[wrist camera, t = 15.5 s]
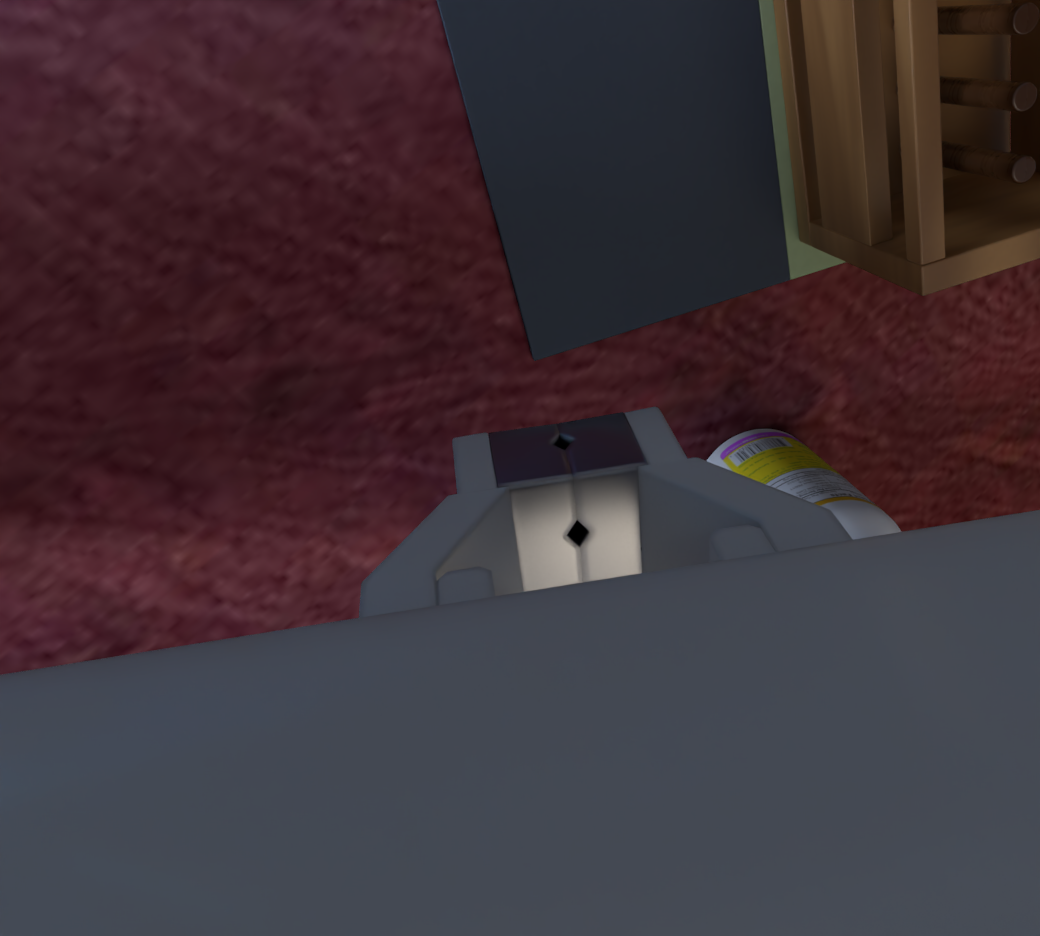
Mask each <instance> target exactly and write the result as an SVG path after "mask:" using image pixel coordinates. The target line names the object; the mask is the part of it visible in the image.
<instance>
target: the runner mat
mask: <svg viewBox="0 0 1040 936" xmlns="http://www.w3.org/2000/svg"><path fill="white" fill-rule="evenodd" d="M437 3H438V7H439V10H440V14H441V18H442V22H443V25H444V29H445V33H446V36H447V40H448V44H449V48H450V51H451V55H452V59H453V62H454V66H455V70H456V74H457V77H458V81H459V85H460V89H461V92H462V96H463V100H464V103H465V107H466V111H467V115H468V118H469V122H470V126H471V130H472V133H473V137H474V141H475V144H476V148H477V152H478V156H479V159H480V163H481V167H482V171H483V174H484V178H485V182H486V185H487V189H488V193H489V197H490V200H491V204H492V208H493V212H494V215H495V219H496V223H497V226H498V230H499V234H500V238H501V241H502V245H503V249H504V253H505V256H506V260H507V264H508V267H509V271H510V275H511V279H512V282H513V286H514V290H515V294H516V297H517V301H518V305H519V308H520V312H521V316H522V320H523V323H524V327H525V331H526V335H527V338H528V342H529V346H530V349H531V353H532V357H533V359H534V361H536V360H539V359H542V358H545V357H548V356H552V355H555V354H558V353H561V352H564V351H567V350H571V349H574V348H577V347H580V346H583V345H586V344H589V343H593V342H596V341H599V340H602V339H605V338H608V337H612V336H615V335H618V334H621V333H624V332H627V331H630V330H634V329H637V328H640V327H643V326H646V325H649V324H653V323H656V322H659V321H662V320H665V319H668V318H671V317H675V316H678V315H681V314H684V313H687V312H690V311H693V310H697V309H700V308H703V307H706V306H709V305H712V304H716V303H719V302H722V301H725V300H728V299H731V298H734V297H738V296H741V295H744V294H747V293H750V292H753V291H757V290H760V289H763V288H766V287H769V286H772V285H775V284H779V283H782V282H785V281H788V280H790V279H794V278H798V277H801V276H804V275H807V274H810V273H813V272H816V271H820V270H823V269H826V268H829V267H832V266H835V265H839V264H842V263H845V261H843V260H841V259H838V258H836V257H834V256H832V255H829V254H827V253H825V252H823V251H820V250H818V249H816V248H814V247H812V246H809V245H807V244H805V243H803V242H800V239H799V230H798V221H797V212H796V203H795V194H794V185H793V176H792V167H791V158H790V149H789V140H788V131H787V122H786V113H785V104H784V95H783V86H782V77H781V68H780V59H779V50H778V41H777V32H776V23H775V14H774V5H773V0H437Z"/></svg>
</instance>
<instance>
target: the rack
mask: <svg viewBox="0 0 1040 936" xmlns="http://www.w3.org/2000/svg"><path fill="white" fill-rule="evenodd" d="M773 5H774V14H775V23H776V32H777V41H778V50H779V59H780V68H781V77H782V86H783V95H784V104H785V113H786V122H787V131H788V140H789V149H790V158H791V167H792V176H793V185H794V194H795V203H796V212H797V221H798V230H799V239H800V242H803V243H805V244H807V245H809V246H812V247H814V248H816V249H818V250H820V251H823V252H825V253H827V254H829V255H832V256H834V257H836V258H838V259H841V260H843V261H845V262H847V263H850V264H852V265H854V266H856V267H859V268H861V269H863V270H865V271H868V272H870V273H872V274H874V275H877V276H879V277H881V278H883V279H886V280H888V281H890V282H892V283H895V284H897V285H899V286H901V287H904V288H906V289H908V290H910V291H913V292H915V293H917V294H919V295H922V296H925V295H928V294H931V293H934V292H937V291H940V290H943V289H946V288H949V287H952V286H955V285H959V284H962V283H965V282H968V281H971V280H974V279H977V278H980V277H983V276H986V275H989V274H992V273H995V272H998V271H1002V270H1005V269H1008V268H1011V267H1014V266H1017V265H1020V264H1023V263H1026V262H1029V261H1032V260H1035V259H1038V258H1040V0H1012V3H1011V0H773ZM1010 47H1011V81H1010ZM1010 111H1011V153H1010Z"/></svg>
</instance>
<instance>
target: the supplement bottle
mask: <svg viewBox="0 0 1040 936" xmlns="http://www.w3.org/2000/svg"><path fill="white" fill-rule="evenodd" d="M707 461H708V462H710V463H713V464H715V465H718V466H720V467H723V468H725V469H728V470H730V471H733V472H736V473H738V474H741V475H743V476H746V477H748V478H751V479H753V480H756V481H758V482H761V483H763V484H766V485H769V486H771V487H774V488H776V489H779V490H781V491H784V492H786V493H789V494H791V495H794V496H796V497H799V498H802V499H804V500H807V501H809V502H812V503H814V504H817V505H819V506H822V507H824V508H827V509H830V510H831V511H832V512H833V514H834V515H835V516H836V518H837V519H838V520H839V522H840V523H841V524H842V526H843V527H844V528H845V530H846V531H847V532H848V534H849V535H850V536H851V538H852V539H853V540H854V539H860V538H867V537H873V536H879V535H886V534H892V533H898V532H901V530H900V529H899V527H898V526H897V524H896V523H895V522H894V521H893V520H892V519H891V518H890V517H889V516H888V515H887V514H886V513H885V512H884V511H883V510H881V509H880V508H879V507H878V506H877V505H875V504H874V503H873V502H872V501H871V500H869V499H868V498H867V497H866V496H865V495H863V494H862V493H861V492H860V491H859V490H857V489H856V488H855V487H854V486H853V485H852V484H851V483H849V482H848V481H847V480H846V479H845V478H843V477H842V476H841V475H840V474H839V473H838V472H836V471H835V470H834V469H833V468H832V467H830V466H829V465H828V464H827V463H826V462H824V461H823V460H822V459H821V458H820V457H819V456H818V455H816V454H815V453H814V452H813V451H812V450H810V449H809V448H808V447H807V446H806V445H804V444H803V443H802V442H800V441H799V440H798V439H796V438H795V437H793V436H792V435H790V434H788V433H785V432H783V431H779V430H775V429H754V430H750V431H746V432H743V433H740V434H738V435H736V436H734V437H732V438H730V439H729V440H727V441H726V442H724V443H723V444H721V445H720V446H719V447H718V448H717V449H716V450H715V451H714V452H713V453H712V454H711V455H710V457H709V458H708V459H707Z"/></svg>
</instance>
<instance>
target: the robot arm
mask: <svg viewBox="0 0 1040 936" xmlns="http://www.w3.org/2000/svg"><path fill="white" fill-rule="evenodd" d="M488 434H489V437H488ZM488 434H487V433H486V432H485V433H480V434H474V435H468V436H463V437H457V438H453V441H452V444H453V454H454V464H455V475H456V485H457V494H455V495H449V496H447V497H446V498H445V499H444V500H443V501H442V503H441V504H440V505H439V506H438V507H437V508H436V509H435V510H434V511H433V512H432V513H431V514H430V515H429V516H428V517H427V518H426V519H425V520H424V521H423V522H422V523H421V524H420V525H419V526H418V527H417V528H416V529H415V530H414V531H413V532H412V533H411V534H410V535H409V536H408V537H407V538H406V539H405V540H404V541H403V542H402V543H401V544H400V545H399V546H398V547H397V548H396V549H395V550H394V551H393V552H392V553H391V554H390V555H389V556H388V557H387V558H386V559H385V560H384V561H383V562H382V563H381V564H380V565H379V566H378V567H377V568H376V569H375V570H374V571H373V572H372V573H371V574H370V575H369V576H368V577H367V578H366V579H365V580H364V581H363V582H362V584H361V597H360V611H359V618H355V619H349V620H342V621H336V622H330V623H323V624H317V625H311V626H304V627H298V628H292V629H285V630H279V631H273V632H267V633H260V634H254V635H248V636H242V637H235V638H229V639H223V640H216V641H210V642H204V643H198V644H191V645H185V646H179V647H173V648H166V649H160V650H154V651H148V652H141V653H135V654H129V655H123V656H116V657H110V658H104V659H97V660H91V661H85V662H79V663H72V664H66V665H60V666H53V667H47V668H41V669H34V670H28V671H22V672H16V673H9V674H3V675H0V936H1040V510H1036V511H1030V512H1024V513H1018V514H1011V515H1005V516H999V517H992V518H986V519H980V520H974V521H967V522H961V523H955V524H948V525H942V526H936V527H930V528H923V529H917V530H911V531H904V532H898V533H892V534H886V535H879V536H873V537H867V538H860V539H854V540H853V539H852V538H851V536H850V535H849V534H848V532H847V531H846V530H845V528H844V527H843V526H842V524H841V523H840V522H839V520H838V519H837V518H836V516H835V515H834V514H833V512H832V511H831V510H830V509H827V508H824V507H822V506H819V505H817V504H814V503H812V502H809V501H807V500H804V499H802V498H799V497H796V496H794V495H791V494H789V493H786V492H784V491H781V490H779V489H776V488H774V487H771V486H769V485H766V484H763V483H761V482H758V481H756V480H753V479H751V478H748V477H746V476H743V475H741V474H738V473H736V472H733V471H730V470H728V469H725V468H723V467H720V466H718V465H715V464H713V463H710V462H708V461H705V460H703V459H700V458H697V457H696V458H689V459H687V457H686V455H685V453H684V452H683V450H682V448H681V446H680V444H679V443H678V441H677V439H676V437H675V436H674V434H673V432H672V430H671V429H670V427H669V425H668V423H667V421H666V420H665V418H664V416H663V414H662V413H661V411H660V409H659V408H657V407H651V408H646V409H641V410H636V411H631V412H626V413H623V412H622V413H616V414H610V415H604V416H599V417H593V418H587V419H582V420H576V421H570V422H564V423H559V424H551V425H544V426H536V427H529V428H521V429H514V430H506V431H499V432H491V433H488ZM489 441H490V443H489Z"/></svg>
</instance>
